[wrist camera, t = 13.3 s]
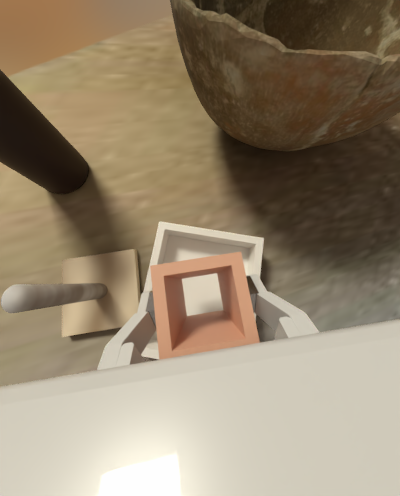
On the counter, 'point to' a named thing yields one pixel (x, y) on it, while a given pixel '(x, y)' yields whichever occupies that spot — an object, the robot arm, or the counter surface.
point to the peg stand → (85, 293)
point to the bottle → (36, 144)
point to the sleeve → (207, 324)
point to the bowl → (292, 67)
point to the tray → (198, 246)
